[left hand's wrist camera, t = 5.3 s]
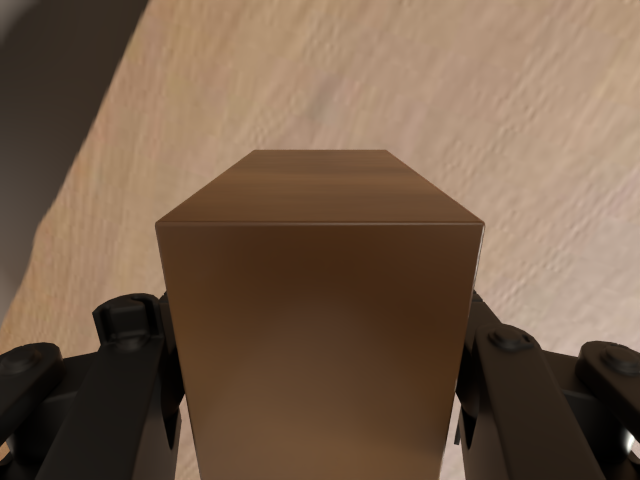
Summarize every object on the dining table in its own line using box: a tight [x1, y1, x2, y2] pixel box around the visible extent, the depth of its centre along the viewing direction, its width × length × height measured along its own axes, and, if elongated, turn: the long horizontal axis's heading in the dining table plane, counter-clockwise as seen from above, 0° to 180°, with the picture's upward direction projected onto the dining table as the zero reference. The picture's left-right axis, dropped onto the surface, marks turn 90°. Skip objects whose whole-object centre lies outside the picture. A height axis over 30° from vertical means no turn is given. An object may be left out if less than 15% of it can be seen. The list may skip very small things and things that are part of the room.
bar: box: [155, 150, 485, 480], centre depth 14 cm, size 24×5×9 cm, turn 0°
